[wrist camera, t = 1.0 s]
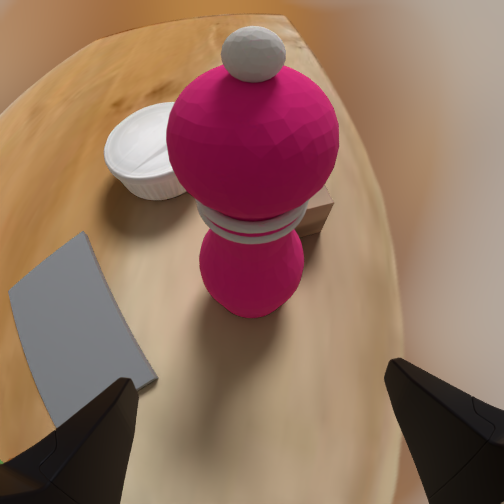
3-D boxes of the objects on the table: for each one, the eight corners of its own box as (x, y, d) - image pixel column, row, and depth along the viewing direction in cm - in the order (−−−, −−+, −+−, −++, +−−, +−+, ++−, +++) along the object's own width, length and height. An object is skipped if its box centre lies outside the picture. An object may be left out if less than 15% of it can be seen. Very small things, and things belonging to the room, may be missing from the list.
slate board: (158, 377, 20) (154, 377, 19) (64, 431, 17) (58, 432, 16) (87, 235, 25) (82, 230, 24) (13, 293, 22) (8, 290, 21)
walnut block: (320, 232, 26) (334, 202, 21) (270, 246, 25) (275, 217, 21) (300, 190, 28) (308, 157, 23) (253, 202, 27) (254, 168, 23)
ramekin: (201, 217, 26) (192, 183, 22) (104, 205, 27) (84, 175, 22) (226, 137, 31) (224, 102, 26) (142, 133, 32) (131, 102, 27)
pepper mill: (247, 228, 26) (244, -6, 8) (310, 277, 24) (419, 52, 6) (191, 285, 23) (75, 61, 5) (256, 342, 22) (285, 159, 3)
